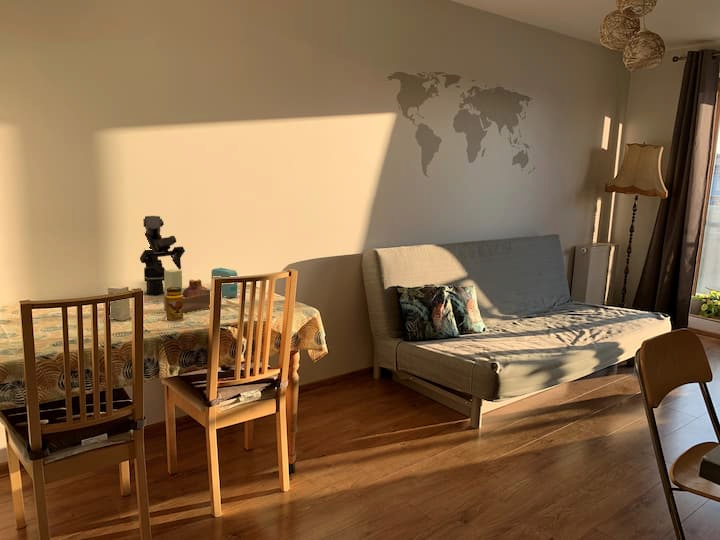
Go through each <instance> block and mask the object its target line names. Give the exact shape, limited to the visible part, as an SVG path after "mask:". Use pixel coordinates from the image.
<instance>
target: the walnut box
mask: <svg viewBox="0 0 720 540" xmlns="http://www.w3.org/2000/svg"><path fill="white" fill-rule="evenodd" d="M210 290H211V289H208V288H206V289H203V288H201V289H200V295H197V296H192V297H183V313H185V314H189V313H188V312H190V313H194V312H198V311H197V310H199V311H202V310H201V309H203V310H206V309H205V308H208V309H210V308H209V305H210ZM163 305H164V306H163V309H164V311H166V295H165V294H164V295H163ZM193 311H194V312H193Z"/></svg>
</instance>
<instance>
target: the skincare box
mask: <svg viewBox="0 0 720 540" xmlns="http://www.w3.org/2000/svg"><path fill="white" fill-rule="evenodd" d="M126 291H129V292H130V290H129V286H124V285H123V286H122V285H113V286H112V285H111V286H108V287H107V295H108V294H114V293H121V292H126ZM130 305H131V304H130V298H129V299H124V300H119V301H113V302H111V303H110V306H111V318H113V319H117V320H116V321H125V320H129V319H131V307H130ZM113 319H112V320H113Z"/></svg>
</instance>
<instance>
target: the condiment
mask: <svg viewBox="0 0 720 540" xmlns="http://www.w3.org/2000/svg"><path fill="white" fill-rule="evenodd" d="M181 290H182V292H181ZM181 293H183V288H182V289H181V288H180V287H170V288H167V295H166V310H165V311H166V314H165V316H164V317H161V318H158V319H159V320H158V321H167V322H172V321H173V323H179V322H181V321H183V320H182V319H184V320H186V319H188V318H189V317H188V316H184V314H183V298H184V296H182V294H181ZM166 317H167V320H164V319H165V318H166Z"/></svg>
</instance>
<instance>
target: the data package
mask: <svg viewBox="0 0 720 540" xmlns="http://www.w3.org/2000/svg"><path fill="white" fill-rule="evenodd" d="M213 276H221V277H230V276H237V277H238V272H237V271H236V269H235V270H234V269H229V268H225V267H224V268H223V267H218V268H217V267H216V268H213V269H211V278H212V277H213ZM223 296H226V297H232V298H234V297H233V296H236V297H237V296H238V282H237V283H234V284H223V285H222V297H221V298H224V297H223Z"/></svg>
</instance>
